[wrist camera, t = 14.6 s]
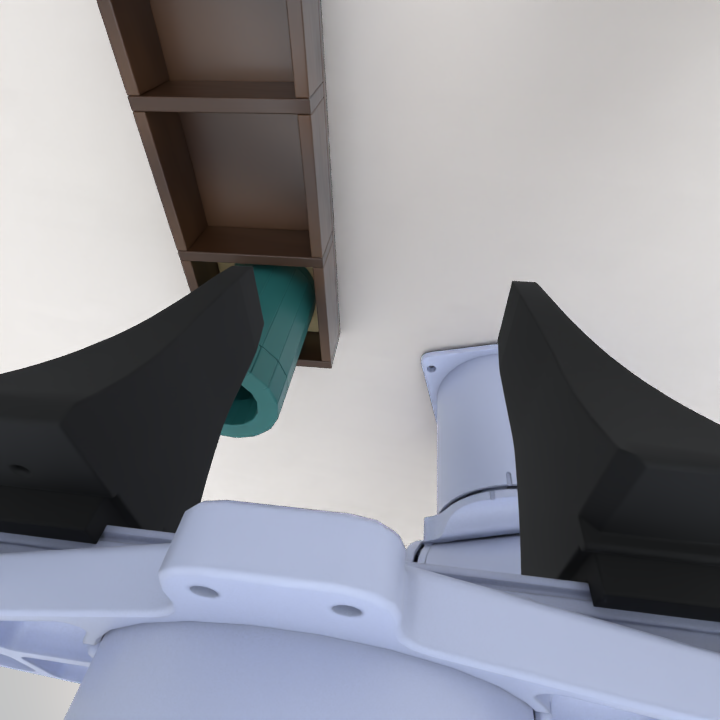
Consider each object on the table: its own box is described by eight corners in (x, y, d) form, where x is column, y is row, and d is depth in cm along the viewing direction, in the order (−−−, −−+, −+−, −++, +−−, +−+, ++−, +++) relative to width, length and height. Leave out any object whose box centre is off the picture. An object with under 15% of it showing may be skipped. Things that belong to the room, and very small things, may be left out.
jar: (329, 316, 24) (295, 433, 19) (254, 328, 26) (200, 441, 20) (298, 240, 22) (246, 351, 16) (215, 258, 23) (139, 366, 17)
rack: (340, 333, 26) (331, 368, 24) (230, 325, 27) (212, 359, 25) (311, -160, 13) (287, -180, 11) (103, -151, 14) (41, -168, 12)
